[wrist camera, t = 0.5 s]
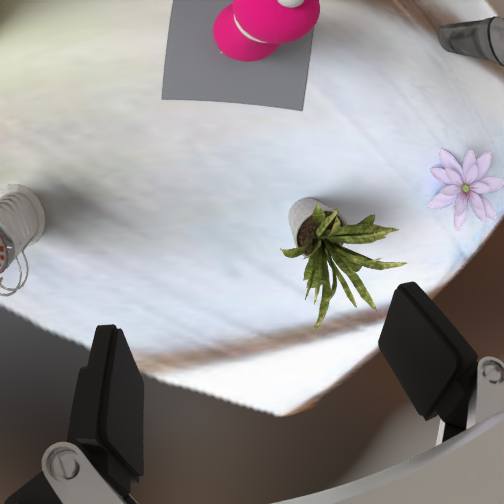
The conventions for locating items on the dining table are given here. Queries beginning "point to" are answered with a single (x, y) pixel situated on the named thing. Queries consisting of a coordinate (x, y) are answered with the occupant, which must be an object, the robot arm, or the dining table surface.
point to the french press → (18, 226)
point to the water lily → (465, 186)
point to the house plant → (332, 249)
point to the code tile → (228, 63)
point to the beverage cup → (475, 39)
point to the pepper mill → (262, 26)
